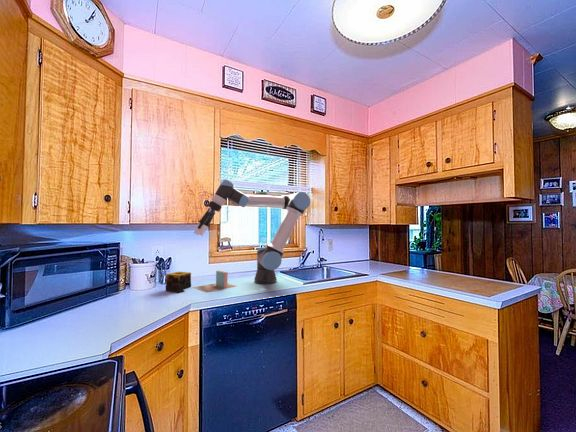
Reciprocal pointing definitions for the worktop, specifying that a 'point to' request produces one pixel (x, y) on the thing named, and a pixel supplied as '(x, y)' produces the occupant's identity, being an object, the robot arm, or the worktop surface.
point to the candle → (178, 281)
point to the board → (212, 287)
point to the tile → (221, 279)
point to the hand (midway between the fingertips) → (198, 234)
